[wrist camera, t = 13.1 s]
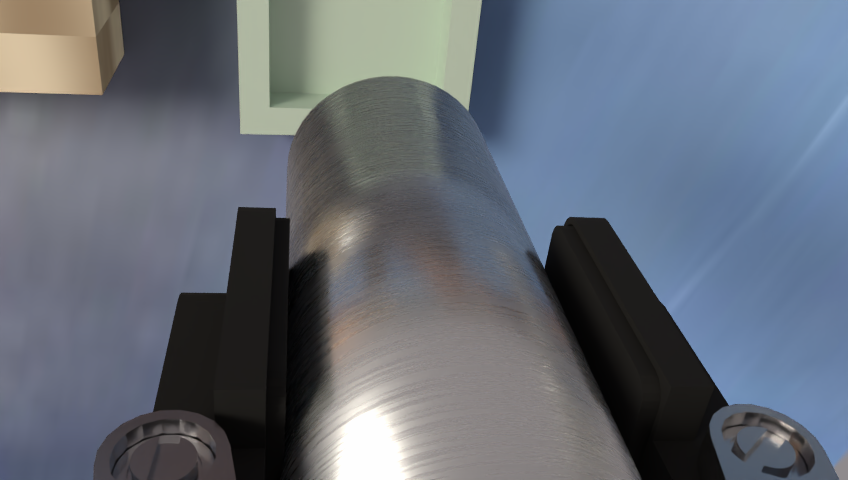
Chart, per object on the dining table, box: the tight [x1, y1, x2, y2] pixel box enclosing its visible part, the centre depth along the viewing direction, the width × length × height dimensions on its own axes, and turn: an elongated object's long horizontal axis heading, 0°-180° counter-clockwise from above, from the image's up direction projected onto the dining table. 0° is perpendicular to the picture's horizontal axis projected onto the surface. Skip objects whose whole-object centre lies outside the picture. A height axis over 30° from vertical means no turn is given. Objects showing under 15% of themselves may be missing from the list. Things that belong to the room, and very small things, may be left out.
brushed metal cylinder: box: [279, 76, 642, 480], centre depth 12 cm, size 4×4×10 cm
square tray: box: [237, 0, 482, 135], centre depth 28 cm, size 8×8×2 cm
